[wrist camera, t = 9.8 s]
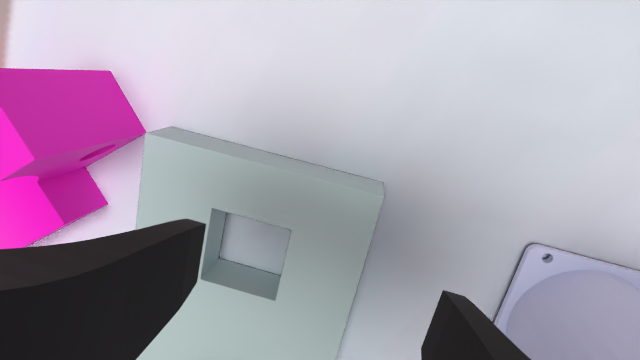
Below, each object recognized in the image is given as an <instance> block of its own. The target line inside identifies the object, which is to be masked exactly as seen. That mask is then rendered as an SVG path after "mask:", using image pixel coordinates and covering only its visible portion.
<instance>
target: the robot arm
mask: <svg viewBox="0 0 640 360" xmlns="http://www.w3.org/2000/svg"><path fill="white" fill-rule="evenodd" d="M205 229H206V224H205V223H202V222H198V221H194V220H191V219H180V220H174V221H170V222H166V223H162V224H157V225H153V226H149V227H145V228H141V229H137V230H133V231H129V232H125V233H120V234H115V235H110V236H106V237H101V238H96V239H91V240H85V241H79V242H73V243H65V244H57V245H49V246H39V247H25V248H11V249H0V360H136V359H137V358H138V357H139V356H140V354H141V353H142V352H143V351H144V350H145V349H146V348H147V346H148V345H149V344H150V343H151V342H152V341H153V340H154V338H155V337H156V336H157V335H158V334H159V333H160V332H161V330H162V329H163V328H164V327H165V326H166V325H167V323H168V322H169V321H170V320H171V319H172V318H173V316H174V315H175V314H176V313H177V312H178V311H179V309H180V308H181V306H182V305H183V303H184V302H185V301H186V299H187V298H188V296H189V294H190V293H191V291H192V290H193V288H194V286H195V285H196V283H197V279H198V273H199V267H200V260H201V254H202V248H203V242H204V235H205ZM545 254H550V256H549V258H548V259H545V260H544V259H542V257H543V256H544V255H545ZM421 356H422V360H640V271H637V270H633V269H630V268H626V267H622V266H618V265H615V264H611V263H607V262H603V261H600V260H596V259H592V258H588V257H585V256H581V255H577V254H573V253H570V252H566V251H562V250H559V249H555V248H551V247H547V246H544V245H540V244H532V245H530V246H528V247H527V249H526V250H525V252H524V255H523V257H522V259H521V262H520V264H519V266H518V268H517V271H516V273H515V275H514V278H513V280H512V282H511V285H510V287H509V289H508V292H507V294H506V296H505V299H504V301H503V303H502V305H501V308H500V310H499V312H498V315H497V317H496V319H495V322H494V324H493V323H492V322H491V321H490V320H489V319H488V318H487V317H486V316H485V315H484V314H483V313H482V312H481V311H480V310H479V309H478V308H477V307H476V306H475V305H474V304H473V303H472V302H471V301H470V300H468V299H467V298H466V297H465V296H462V295H458V294H455V293H451V292H447V291H444V290H443V292H442V294H441V297H440V300H439V302H438V305H437V308H436V310H435V313H434V316H433V318H432V321H431V324H430V326H429V329H428V332H427V334H426V337H425V340H424V342H423V345H422V348H421Z"/></svg>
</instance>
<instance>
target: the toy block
mask: <svg viewBox="0 0 640 360" xmlns="http://www.w3.org/2000/svg"><path fill="white" fill-rule="evenodd" d="M145 133H146V131H145V129H144V128H143V126H142V124H141V123H140V121H139V119H138V117H137V116H136V114H135V112H134V111H133V109H132V107H131V106H130V104H129V102H128V100H127V99H126V97H125V95H124V94H123V92H122V90H121V89H120V87H119V85H118V83H117V82H116V80H115V78H114V77H113V75H112V73H111V72H110V71H96V70H53V69H11V68H0V249H11V248H25V247H26V246H28V245H30V244H32V243H34V242H36V241H38V240H40V239H42V238H44V237H46V236H48V235H49V234H51V233H53V232H55V231H57V230H59V229H61V228H63V227H65V226H67V225H69V224H70V223H72V222H74V221H76V220H78V219H80V218H82V217H84V216H86V215H88V214H90V213H92V212H93V211H95V210H97V209H99V208H101V207H103V206H105V205H107V204H108V202H107V201H106V199H105V198H104V196H103V195H102V193H101V191H100V190H99V188H98V187H97V185H96V183H95V182H94V180H93V179H92V177H91V175H90V174H89V172H88V171H87V169H86V168H85V167H86V166H88V165H90V164H92V163H93V162H95V161H97V160H99V159H101V158H102V157H104V156H106V155H108V154H109V153H111V152H113V151H115V150H116V149H118V148H120V147H122V146H124V145H125V144H127V143H129V142H131V141H132V140H134V139H136V138H138V137H140V136H141V135H143V134H145Z"/></svg>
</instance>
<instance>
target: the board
mask: <svg viewBox="0 0 640 360" xmlns="http://www.w3.org/2000/svg"><path fill="white" fill-rule="evenodd" d="M383 200H384V185H383V182H379V181H375V180H372V179H368V178H364V177H360V176H356V175H353V174H349V173H345V172H341V171H338V170H334V169H330V168H326V167H322V166H319V165H315V164H311V163H307V162H303V161H300V160H296V159H292V158H288V157H284V156H281V155H277V154H273V153H269V152H265V151H262V150H258V149H254V148H250V147H246V146H243V145H239V144H235V143H231V142H227V141H224V140H220V139H216V138H212V137H209V136H205V135H201V134H197V133H193V132H190V131H186V130H182V129H178V128H174V127H168V128H164V129H160V130H156V131H152V132H147V133H145V141H144V151H143V161H142V170H141V180H140V190H139V200H138V210H137V220H136V230H137V229H141V228H145V227H149V226H153V225H157V224H162V223H166V222H170V221H174V220H180V219H191V220H194V221H198V222H202V223H205V224H206V229H205V235H204V242H203V248H202V254H201V260H200V267H199V273H198V279H197V283H196V285H195V286H194V288H193V290H192V291H191V293H190V294H189V296H188V298H187V299H186V301H185V302H184V303H183V305H182V306H181V308H180V309H179V311H178V312H177V313H176V314H175V315H174V316H173V318H172V319H171V320H170V321H169V322H168V323H167V325H166V326H165V327H164V328H163V329H162V330H161V332H160V333H159V334H158V335H157V336H156V337H155V338H154V340H153V341H152V342H151V343H150V344H149V345H148V346H147V348H146V349H145V350H144V351H143V352H142V353H141V354H140V356H139V357H138V358H137V359H136V360H336V357H337V353H338V350H339V347H340V343H341V340H342V337H343V333H344V330H345V327H346V323H347V320H348V316H349V313H350V310H351V306H352V303H353V300H354V296H355V293H356V290H357V286H358V283H359V280H360V276H361V273H362V270H363V266H364V263H365V260H366V256H367V253H368V250H369V246H370V243H371V240H372V236H373V233H374V230H375V226H376V223H377V220H378V216H379V213H380V210H381V206H382V203H383ZM226 212H229V213H232V214H236V215H239V216H243V217H247V218H250V219H254V220H258V221H261V222H265V223H268V224H272V225H276V226H279V227H283V228H286V229H290V230H292V231H291V235H290V239H289V244H288V248H287V252H286V257H285V261H284V265H283V270H282V274H281V276H279V275H276V274H272V273H269V272H265V271H262V270H258V269H255V268H251V267H248V266H244V265H241V264H237V263H234V262H230V261H227V260H223V259H220V258H219V253H220V247H221V241H222V235H223V230H224V224H225V218H226Z"/></svg>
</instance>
